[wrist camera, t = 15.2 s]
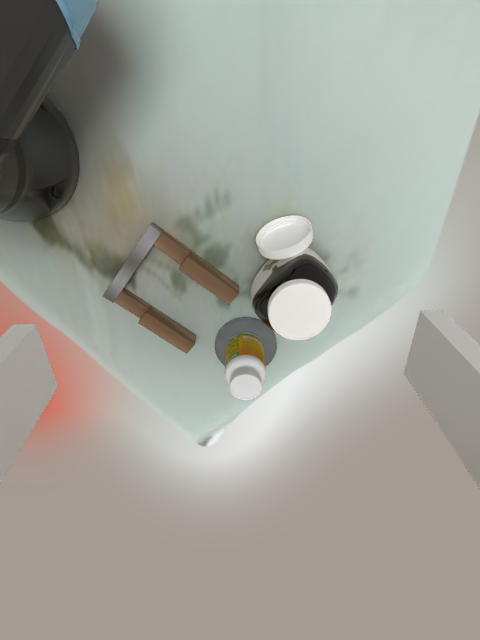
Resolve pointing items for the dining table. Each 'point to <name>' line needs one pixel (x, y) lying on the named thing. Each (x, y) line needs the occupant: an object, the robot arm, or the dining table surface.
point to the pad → (251, 327)
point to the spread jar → (292, 280)
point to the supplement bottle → (245, 365)
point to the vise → (189, 266)
